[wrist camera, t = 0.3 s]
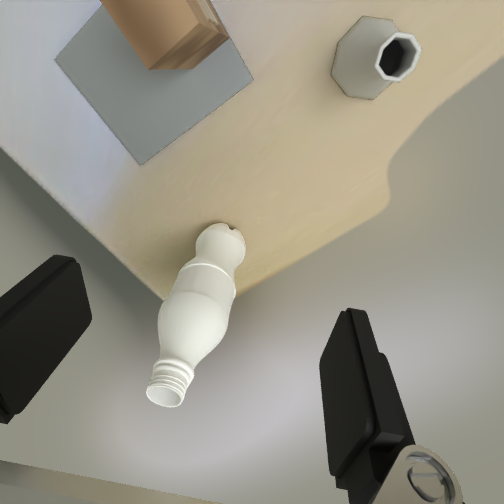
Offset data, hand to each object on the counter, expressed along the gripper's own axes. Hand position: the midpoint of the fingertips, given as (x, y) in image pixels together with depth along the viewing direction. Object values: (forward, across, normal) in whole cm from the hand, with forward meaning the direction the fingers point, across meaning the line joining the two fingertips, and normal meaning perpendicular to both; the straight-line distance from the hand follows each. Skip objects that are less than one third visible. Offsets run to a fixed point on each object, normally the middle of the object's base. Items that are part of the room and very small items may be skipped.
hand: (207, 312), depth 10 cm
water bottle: (+30, +4, +15) cm, 34 cm away
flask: (+30, -9, -9) cm, 33 cm away
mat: (+30, +14, -5) cm, 33 cm away
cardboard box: (+29, +9, -10) cm, 32 cm away
